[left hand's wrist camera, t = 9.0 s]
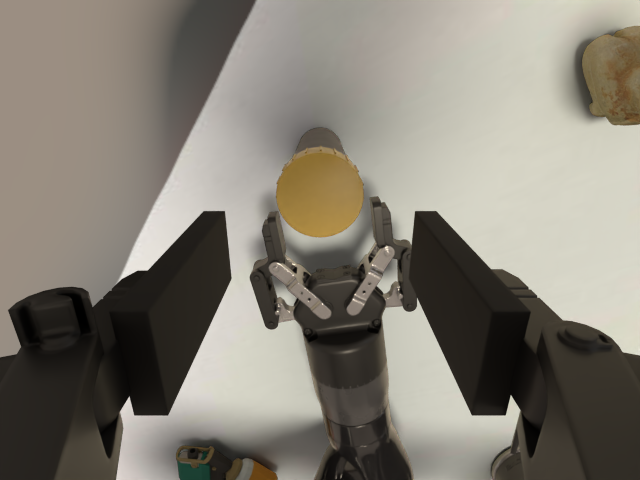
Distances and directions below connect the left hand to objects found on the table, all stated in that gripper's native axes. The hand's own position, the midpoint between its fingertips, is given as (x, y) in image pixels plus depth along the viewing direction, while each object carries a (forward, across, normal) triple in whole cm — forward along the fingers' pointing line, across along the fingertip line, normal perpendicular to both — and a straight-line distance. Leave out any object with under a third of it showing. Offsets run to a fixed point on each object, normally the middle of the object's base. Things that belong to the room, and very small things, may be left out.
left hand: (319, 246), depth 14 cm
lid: (+7, 0, 0) cm, 7 cm away
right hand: (+17, 0, +4) cm, 17 cm away
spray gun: (+23, +13, +46) cm, 53 cm away
